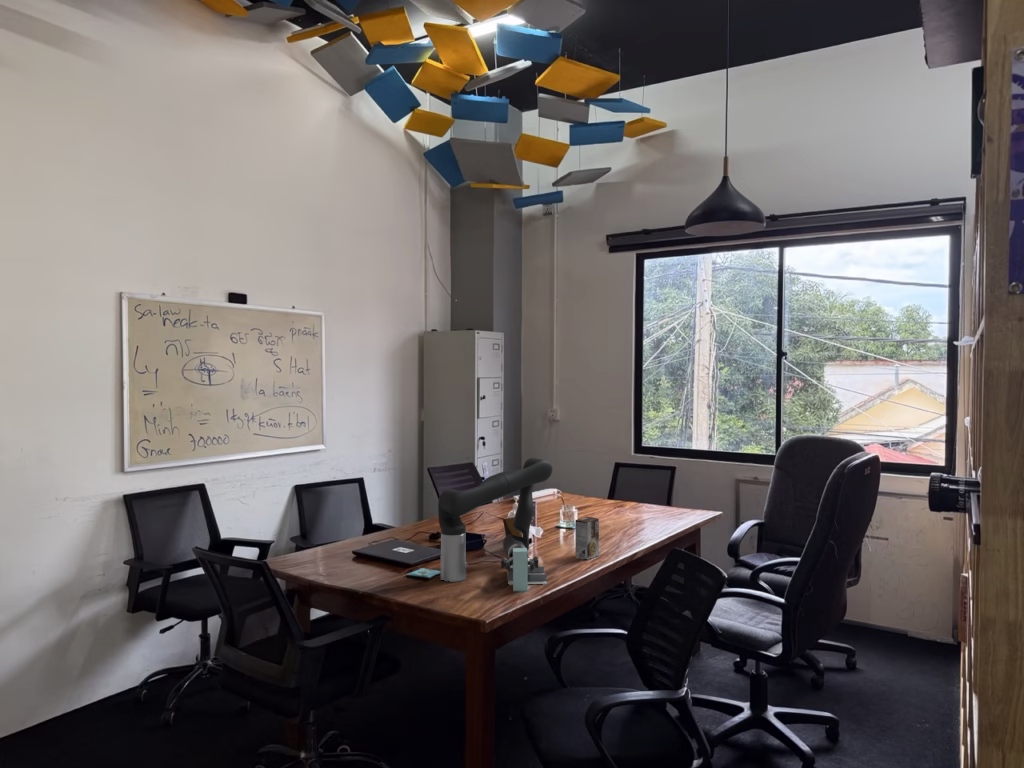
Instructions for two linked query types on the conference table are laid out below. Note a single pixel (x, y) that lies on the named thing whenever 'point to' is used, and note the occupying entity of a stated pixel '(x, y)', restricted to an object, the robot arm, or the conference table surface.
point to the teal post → (520, 569)
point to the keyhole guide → (530, 576)
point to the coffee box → (586, 537)
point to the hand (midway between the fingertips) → (520, 568)
